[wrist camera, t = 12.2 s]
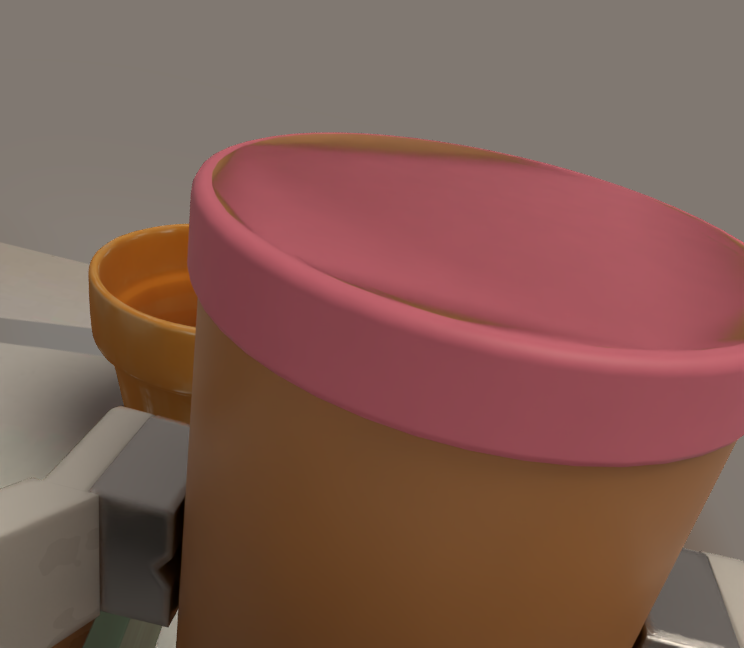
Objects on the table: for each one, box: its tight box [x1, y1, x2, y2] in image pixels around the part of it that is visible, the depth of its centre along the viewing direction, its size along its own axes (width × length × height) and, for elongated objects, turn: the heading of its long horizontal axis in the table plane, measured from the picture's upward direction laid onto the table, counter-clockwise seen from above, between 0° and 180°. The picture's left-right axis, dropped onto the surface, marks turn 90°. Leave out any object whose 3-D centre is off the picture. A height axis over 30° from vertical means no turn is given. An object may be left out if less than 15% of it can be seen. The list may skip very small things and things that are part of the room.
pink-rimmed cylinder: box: [176, 133, 744, 648], centre depth 8 cm, size 5×5×10 cm
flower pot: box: [89, 224, 198, 424], centre depth 41 cm, size 14×14×13 cm
